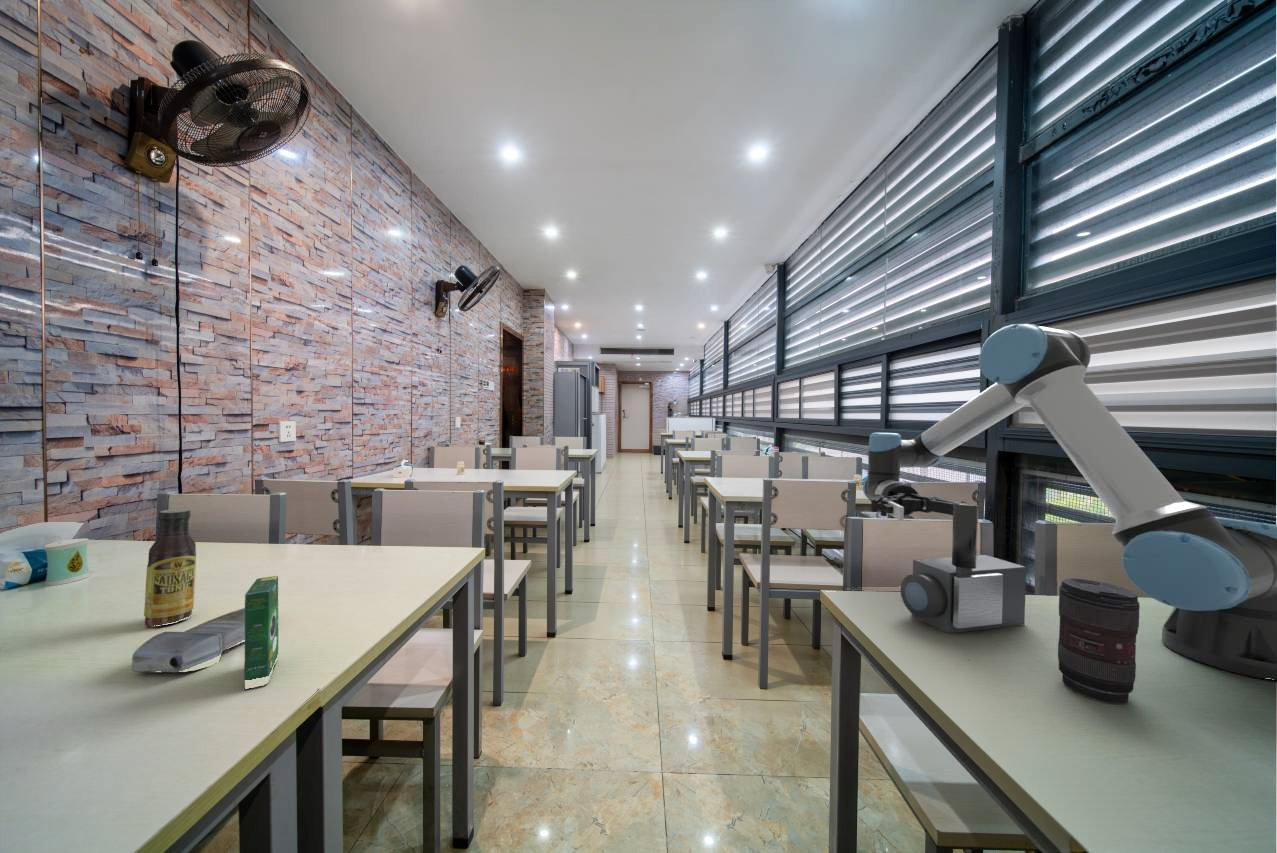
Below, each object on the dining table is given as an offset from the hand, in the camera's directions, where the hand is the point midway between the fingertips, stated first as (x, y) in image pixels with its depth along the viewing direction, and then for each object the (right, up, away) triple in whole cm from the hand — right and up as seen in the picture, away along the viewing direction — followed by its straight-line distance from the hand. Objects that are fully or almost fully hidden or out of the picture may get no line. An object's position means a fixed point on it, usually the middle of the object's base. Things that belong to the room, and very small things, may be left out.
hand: (938, 515), depth 92 cm
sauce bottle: (-144, -17, -10) cm, 145 cm away
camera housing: (+2, -20, -3) cm, 20 cm away
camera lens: (+5, -20, -26) cm, 33 cm away
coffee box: (-114, -18, -26) cm, 119 cm away
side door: (+1, -18, -9) cm, 20 cm away
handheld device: (-128, -18, -18) cm, 130 cm away
